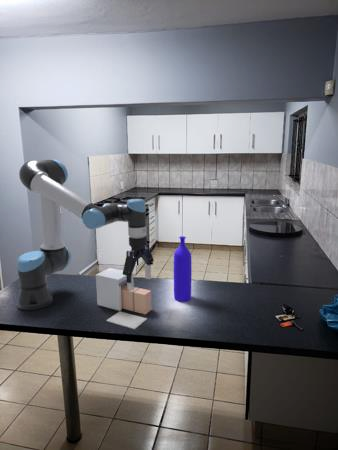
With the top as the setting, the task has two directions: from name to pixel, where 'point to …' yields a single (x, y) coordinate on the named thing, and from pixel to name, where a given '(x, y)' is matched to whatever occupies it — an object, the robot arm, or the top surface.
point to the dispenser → (110, 288)
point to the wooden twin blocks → (136, 299)
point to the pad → (126, 320)
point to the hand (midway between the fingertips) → (139, 283)
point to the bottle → (182, 272)
